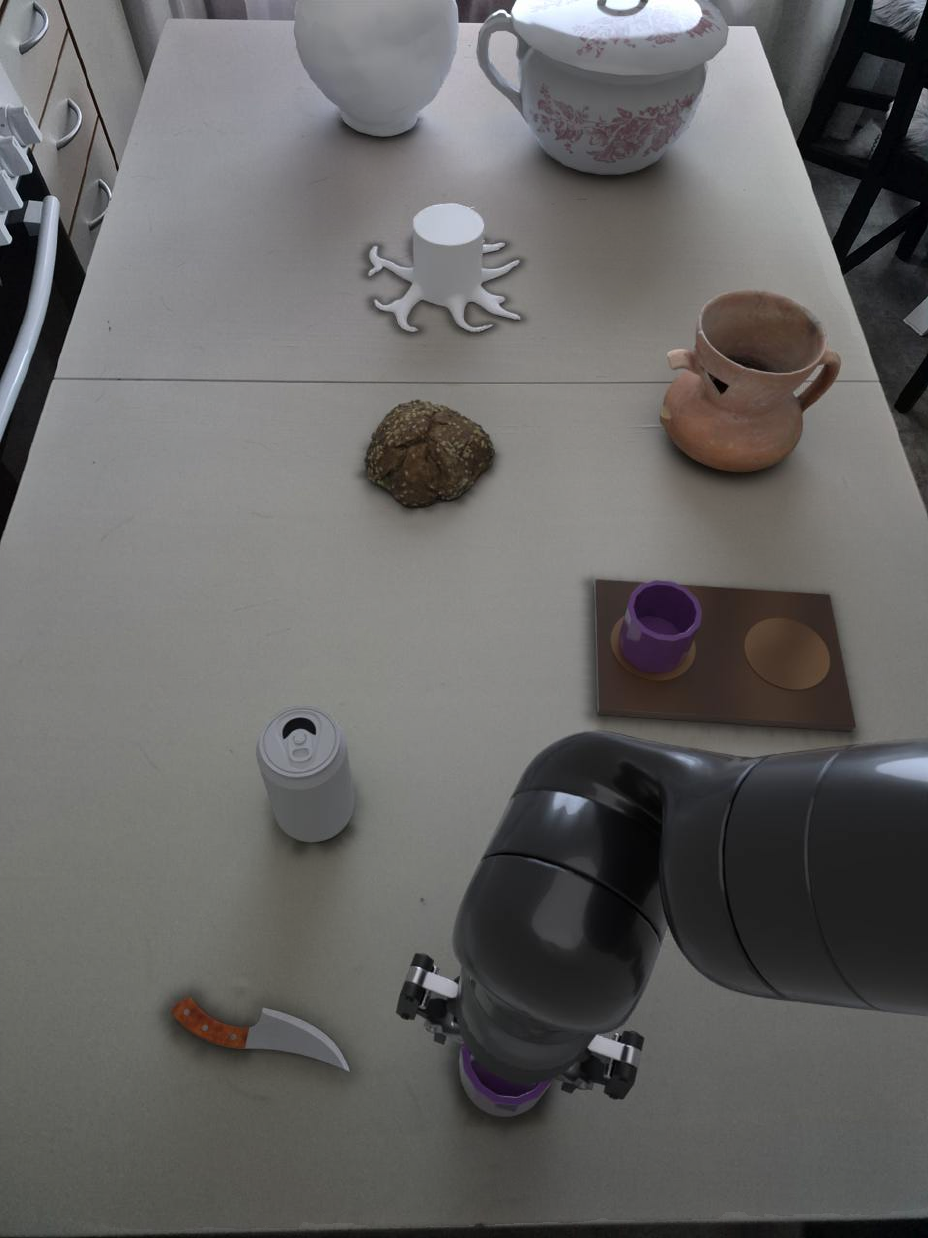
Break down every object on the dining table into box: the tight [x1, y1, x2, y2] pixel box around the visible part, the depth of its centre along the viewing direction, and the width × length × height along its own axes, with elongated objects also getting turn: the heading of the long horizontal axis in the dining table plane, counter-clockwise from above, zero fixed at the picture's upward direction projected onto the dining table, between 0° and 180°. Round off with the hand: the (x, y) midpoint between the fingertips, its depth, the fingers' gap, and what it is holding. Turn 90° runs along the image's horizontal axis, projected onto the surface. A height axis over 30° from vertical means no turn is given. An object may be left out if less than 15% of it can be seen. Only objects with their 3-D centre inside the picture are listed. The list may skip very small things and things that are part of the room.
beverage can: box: [255, 704, 356, 843], centre depth 72 cm, size 6×6×12 cm
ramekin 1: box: [458, 1044, 554, 1118], centre depth 65 cm, size 6×6×5 cm
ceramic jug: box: [659, 288, 842, 473], centre depth 97 cm, size 18×14×14 cm
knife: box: [170, 997, 351, 1073], centre depth 67 cm, size 13×1×3 cm
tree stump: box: [367, 201, 521, 333], centre depth 113 cm, size 20×19×8 cm
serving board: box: [593, 578, 856, 732], centre depth 87 cm, size 22×14×1 cm, turn 87°
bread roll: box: [364, 398, 496, 508], centre depth 97 cm, size 13×12×5 cm
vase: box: [293, 0, 460, 138], centre depth 124 cm, size 19×21×30 cm
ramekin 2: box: [618, 579, 702, 674], centre depth 84 cm, size 6×6×5 cm
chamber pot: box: [475, 0, 730, 176], centre depth 126 cm, size 28×28×21 cm
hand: (506, 1051), depth 62 cm, fingers open, 8 cm apart
